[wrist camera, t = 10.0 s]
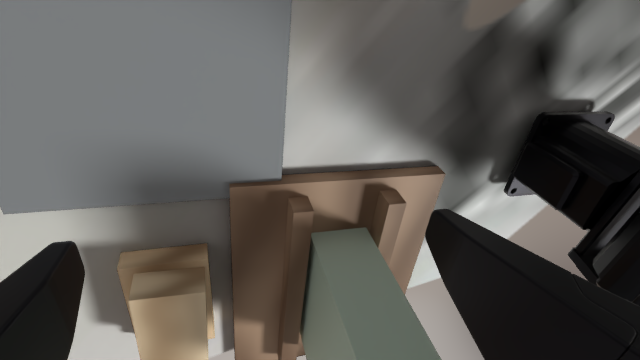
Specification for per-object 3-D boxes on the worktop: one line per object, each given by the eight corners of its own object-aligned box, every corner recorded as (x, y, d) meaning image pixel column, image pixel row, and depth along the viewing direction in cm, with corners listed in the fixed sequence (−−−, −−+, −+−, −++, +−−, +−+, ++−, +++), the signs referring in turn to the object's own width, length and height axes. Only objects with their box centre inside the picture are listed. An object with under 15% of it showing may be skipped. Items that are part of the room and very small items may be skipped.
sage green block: (366, 227, 25) (469, 408, 16) (345, 319, 31) (413, 496, 21) (309, 233, 24) (384, 432, 15) (298, 327, 30) (347, 519, 20)
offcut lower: (206, 236, 24) (207, 258, 23) (213, 315, 28) (214, 337, 27) (122, 245, 23) (116, 269, 21) (142, 326, 27) (139, 351, 25)
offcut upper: (205, 266, 23) (205, 292, 21) (207, 336, 26) (208, 363, 25) (133, 273, 22) (128, 300, 20) (146, 345, 25) (143, 373, 24)
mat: (290, -35, 16) (293, -34, 16) (278, 188, 23) (280, 194, 22) (-116, -77, 12) (-128, -78, 12) (8, 207, 19) (3, 214, 18)
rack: (437, 166, 25) (458, 186, 23) (385, 328, 35) (396, 352, 33) (228, 178, 21) (232, 203, 19) (234, 357, 31) (237, 386, 29)
